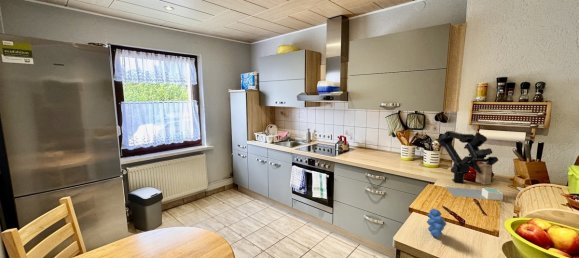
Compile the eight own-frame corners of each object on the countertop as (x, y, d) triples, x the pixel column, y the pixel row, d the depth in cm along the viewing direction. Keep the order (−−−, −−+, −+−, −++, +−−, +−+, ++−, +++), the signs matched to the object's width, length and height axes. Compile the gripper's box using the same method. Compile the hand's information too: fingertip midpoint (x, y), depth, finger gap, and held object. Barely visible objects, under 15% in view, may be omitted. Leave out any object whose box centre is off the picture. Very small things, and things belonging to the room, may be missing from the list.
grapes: (452, 245, 93) (454, 216, 92) (433, 244, 95) (435, 214, 93) (439, 230, 105) (441, 203, 103) (422, 228, 106) (424, 202, 105)
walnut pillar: (475, 181, 146) (477, 164, 145) (481, 180, 148) (483, 163, 147) (484, 184, 142) (486, 166, 140) (490, 183, 143) (492, 165, 142)
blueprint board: (444, 187, 156) (445, 180, 155) (488, 191, 149) (489, 184, 149) (453, 196, 141) (454, 189, 140) (503, 201, 134) (504, 193, 133)
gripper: (465, 143, 146) (477, 166, 137) (497, 143, 146) (511, 166, 136) (456, 153, 155) (466, 175, 145) (486, 153, 154) (498, 175, 145)
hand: (485, 173), depth 143 cm, fingers closed on walnut pillar, 6 cm apart
